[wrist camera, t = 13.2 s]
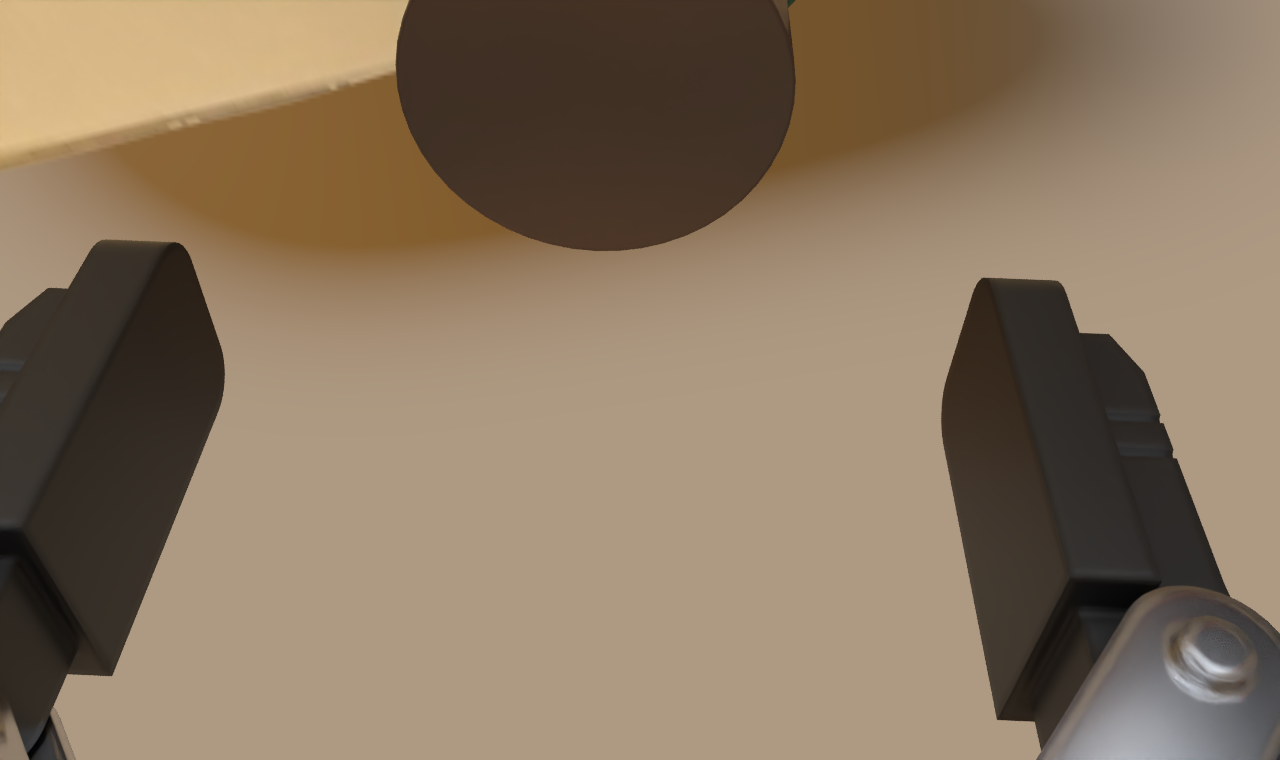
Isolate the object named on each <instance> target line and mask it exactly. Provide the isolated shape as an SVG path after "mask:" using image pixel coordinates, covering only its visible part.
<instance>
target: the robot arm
mask: <svg viewBox="0 0 1280 760" xmlns="http://www.w3.org/2000/svg"><path fill="white" fill-rule="evenodd" d="M224 371H225V370H224V359H223V353H222V349H221V346H220V343H219V340H218V337H217V334H216V331H215V328H214V325H213V322H212V319H211V316H210V313H209V311H208V308H207V305H206V302H205V299H204V296H203V293H202V290H201V287H200V284H199V281H198V278H197V275H196V272H195V269H194V266H193V264H192V260H191V258H190V256H189V254H188V252H187V251H186V249H185V248H184V246H183V245H181V244H180V243H176V242H154V241H153V242H151V241H130V240H129V241H127V240H101V241H99V242H98V243H96V244H95V245H94V246H93V248H92V249H91V251H90V252H89V254H88V255H87V257H86V259H85V261H84V262H83V264H82V266H81V267H80V269H79V271H78V273H77V274H76V276H75V278H74V279H73V281H72V283H71V285H70V286H69V288H68V289H62V288H48V289H46V290H45V291H44V292H43V293H41V294H40V295H39V296H38V297H36V298H35V299H34V300H33V301H32V302H30V303H29V304H28V305H26V306H25V307H24V308H23V309H22V310H20V311H19V312H18V313H17V314H15V315H14V316H13V317H12V318H10V319H9V320H8V321H7V322H6V323H5V324H4V326H3V328H2V329H1V331H0V760H76V759H75V756H74V753H73V751H72V748H71V745H70V743H69V740H68V737H67V735H66V732H65V730H64V727H63V725H62V722H61V719H60V717H59V715H58V713H57V711H56V710H55V708H54V707H53V706H54V703H55V701H56V699H57V696H58V694H59V692H60V689H61V687H62V685H63V683H64V680H65V678H66V675H67V674H78V675H98V676H99V675H100V676H112V675H113V672H114V670H115V667H116V665H117V662H118V660H119V657H120V655H121V652H122V650H123V647H124V645H125V642H126V640H127V637H128V635H129V632H130V630H131V627H132V625H133V623H134V620H135V617H136V615H137V612H138V610H139V607H140V605H141V603H142V600H143V597H144V595H145V593H146V590H147V587H148V585H149V582H150V580H151V578H152V575H153V573H154V570H155V568H156V565H157V562H158V560H159V558H160V555H161V553H162V550H163V548H164V545H165V543H166V540H167V538H168V535H169V533H170V530H171V528H172V525H173V523H174V520H175V518H176V515H177V513H178V510H179V508H180V505H181V503H182V500H183V498H184V495H185V493H186V490H187V488H188V485H189V483H190V480H191V478H192V476H193V473H194V470H195V468H196V465H197V463H198V460H199V458H200V456H201V453H202V451H203V448H204V446H205V443H206V441H207V438H208V436H209V433H210V431H211V428H212V426H213V423H214V421H215V418H216V416H217V413H218V411H219V407H220V405H221V401H222V397H223V391H224V378H225V377H224V376H225V372H224ZM941 415H942V416H941V417H942V418H941V419H942V420H941V422H942V423H941V424H942V437H943V444H944V450H945V455H946V460H947V465H948V470H949V475H950V480H951V486H952V490H953V496H954V501H955V506H956V511H957V516H958V522H959V527H960V532H961V537H962V542H963V547H964V552H965V558H966V562H967V568H968V573H969V578H970V583H971V588H972V593H973V598H974V604H975V609H976V614H977V619H978V624H979V629H980V635H981V639H982V645H983V650H984V655H985V660H986V665H987V671H988V676H989V681H990V686H991V691H992V696H993V701H994V707H995V712H996V717H997V720H1012V721H1033V722H1035V724H1036V729H1037V734H1038V738H1039V743H1040V747H1041V753H1040V755H1039V756H1038V758H1037V759H1036V760H1280V634H1279V632H1278V631H1277V630H1276V629H1275V628H1274V627H1273V626H1272V625H1271V624H1270V623H1269V622H1268V621H1267V620H1265V619H1264V618H1263V617H1262V616H1260V615H1259V614H1258V613H1257V612H1255V611H1254V610H1252V609H1251V608H1249V607H1248V606H1246V605H1244V604H1243V603H1241V602H1239V601H1237V600H1235V599H1233V598H1231V597H1230V595H1229V593H1228V591H1227V589H1226V587H1225V584H1224V582H1223V579H1222V577H1221V574H1220V571H1219V569H1218V566H1217V564H1216V561H1215V558H1214V556H1213V553H1212V550H1211V548H1210V545H1209V542H1208V540H1207V537H1206V534H1205V532H1204V529H1203V526H1202V524H1201V521H1200V519H1199V516H1198V513H1197V511H1196V508H1195V505H1194V503H1193V500H1192V497H1191V495H1190V492H1189V490H1188V487H1187V484H1186V482H1185V479H1184V476H1183V474H1182V471H1181V469H1180V466H1179V464H1178V461H1177V459H1175V458H1173V455H1172V453H1173V447H1172V445H1171V442H1170V439H1169V437H1168V434H1167V431H1166V429H1165V426H1164V424H1163V423H1160V421H1159V418H1160V413H1159V410H1158V408H1157V405H1156V402H1155V400H1154V397H1153V394H1152V392H1151V389H1150V386H1149V384H1148V381H1147V379H1146V376H1145V373H1144V372H1143V371H1142V370H1141V368H1140V367H1139V366H1138V365H1137V364H1136V363H1135V362H1134V361H1133V360H1132V359H1131V358H1130V357H1129V355H1128V354H1127V353H1126V352H1125V351H1124V350H1123V349H1122V348H1121V347H1120V346H1119V345H1118V344H1117V342H1116V341H1115V340H1114V339H1113V338H1112V337H1111V336H1110V335H1109V334H1091V333H1090V334H1089V333H1079V330H1078V327H1077V325H1076V321H1075V318H1074V316H1073V312H1072V309H1071V307H1070V303H1069V300H1068V297H1067V294H1066V292H1065V289H1064V287H1063V286H1062V284H1061V283H1059V282H1058V281H1052V280H1027V279H1026V280H1025V279H1003V278H982V279H981V280H980V281H979V282H978V283H977V285H976V287H975V289H974V292H973V295H972V298H971V301H970V304H969V308H968V311H967V315H966V317H965V321H964V324H963V327H962V330H961V333H960V337H959V340H958V343H957V347H956V350H955V353H954V356H953V359H952V363H951V366H950V369H949V373H948V376H947V379H946V383H945V387H944V392H943V400H942V414H941Z"/></svg>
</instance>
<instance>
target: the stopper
mask: <svg viewBox="0 0 1280 760" xmlns="http://www.w3.org/2000/svg"><path fill="white" fill-rule="evenodd" d="M396 77H397V88H398V92H399V97H400V102H401V106H402V110H403V113H404V116H405V118H406V121H407V124H408V127H409V129H410V132H411V134H412V136H413V138H414V140H415V142H416V143H417V145H418V147H419V149H420V151H421V153H422V154H423V155H424V157H425V158H426V160H427V161H428V163H429V164H430V166H431V167H432V168H433V170H434V171H435V173H436V174H437V175H438V176H439V177H440V178H441V179H442V180H443V181H444V182H445V184H447V186H448V187H449V188H450V189H451V190H452V191H453V192H454V193H456V194H457V195H458V196H459V197H460V198H461V199H462V200H463V201H465V202H466V203H467V204H468V205H470V206H471V207H473V208H474V209H475V210H477V211H478V212H480V213H481V214H482V215H484V216H485V217H487V218H489V219H491V220H492V221H494V222H496V223H498V224H500V225H501V226H503V227H505V228H507V229H509V230H512V231H514V232H516V233H519V234H521V235H523V236H526V237H528V238H531V239H535V240H539V241H542V242H545V243H548V244H552V245H557V246H562V247H567V248H572V249H582V250H593V251H620V250H629V249H638V248H644V247H649V246H653V245H658V244H662V243H666V242H668V241H671V240H674V239H677V238H680V237H683V236H686V235H688V234H690V233H692V232H695V231H697V230H699V229H701V228H703V227H705V226H707V225H708V224H710V223H711V222H713V221H715V220H716V219H718V218H720V217H721V216H723V215H725V214H726V213H727V212H728V211H729V210H731V209H732V208H733V207H734V206H736V205H737V204H738V203H739V202H740V201H742V200H743V199H744V198H745V197H746V196H747V195H748V194H749V193H750V192H751V190H752V189H753V188H754V187H755V186H756V185H757V184H758V183H759V181H760V180H761V179H762V177H763V176H764V174H765V173H766V172H767V171H768V169H769V168H770V166H771V165H772V163H773V161H774V159H775V157H776V156H777V154H778V152H779V150H780V148H781V146H782V144H783V141H784V138H785V136H786V133H787V130H788V128H789V124H790V120H791V115H792V110H793V106H794V96H795V68H794V56H793V48H792V39H791V30H790V21H789V12H788V3H787V0H409V2H408V5H407V7H406V10H405V13H404V15H403V19H402V23H401V27H400V31H399V36H398V40H397V52H396Z"/></svg>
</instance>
